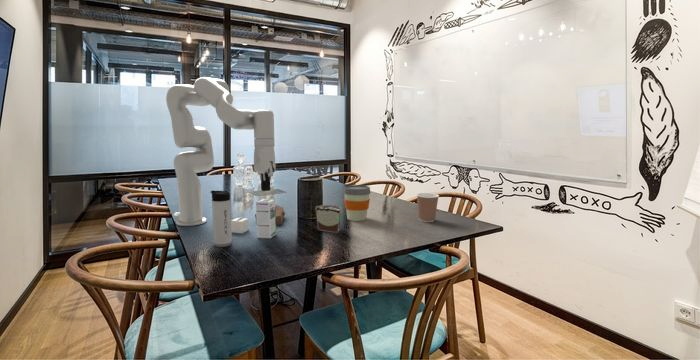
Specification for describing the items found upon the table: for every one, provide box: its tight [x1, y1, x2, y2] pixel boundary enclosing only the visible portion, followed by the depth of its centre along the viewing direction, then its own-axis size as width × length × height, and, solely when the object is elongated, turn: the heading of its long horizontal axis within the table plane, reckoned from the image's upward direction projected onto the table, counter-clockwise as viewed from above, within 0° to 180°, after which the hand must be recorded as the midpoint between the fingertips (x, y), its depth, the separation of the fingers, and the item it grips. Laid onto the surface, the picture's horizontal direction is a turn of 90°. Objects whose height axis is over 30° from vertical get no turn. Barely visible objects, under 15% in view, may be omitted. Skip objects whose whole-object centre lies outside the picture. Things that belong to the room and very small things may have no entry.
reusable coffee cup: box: [343, 184, 371, 222], centre depth 179 cm, size 13×13×15 cm
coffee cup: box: [416, 192, 440, 223], centre depth 176 cm, size 10×10×12 cm
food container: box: [314, 204, 343, 234], centre depth 159 cm, size 12×6×10 cm, turn 65°
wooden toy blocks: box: [254, 204, 286, 226], centre depth 174 cm, size 8×13×18 cm
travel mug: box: [210, 189, 233, 248], centre depth 138 cm, size 6×7×20 cm
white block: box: [231, 217, 250, 234], centre depth 156 cm, size 5×5×5 cm
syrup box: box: [255, 198, 277, 239], centre depth 149 cm, size 6×6×14 cm
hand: (265, 190), depth 147 cm, fingers closed
